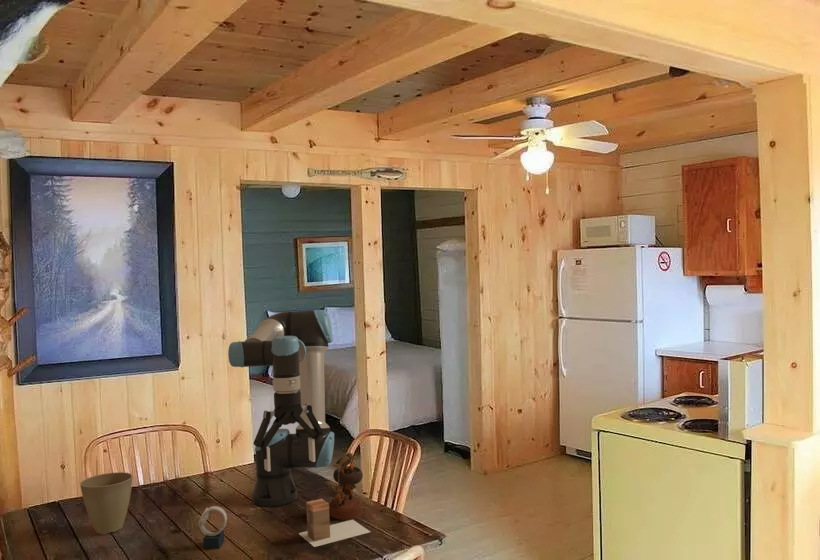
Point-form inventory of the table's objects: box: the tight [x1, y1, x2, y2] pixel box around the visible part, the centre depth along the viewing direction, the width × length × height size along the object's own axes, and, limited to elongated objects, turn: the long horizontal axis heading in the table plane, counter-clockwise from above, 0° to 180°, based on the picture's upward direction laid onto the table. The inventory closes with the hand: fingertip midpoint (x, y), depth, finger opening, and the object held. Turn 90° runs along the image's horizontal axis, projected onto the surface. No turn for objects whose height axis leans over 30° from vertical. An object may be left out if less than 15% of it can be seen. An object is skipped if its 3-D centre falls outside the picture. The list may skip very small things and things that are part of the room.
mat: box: [298, 519, 371, 548], centre depth 202 cm, size 12×18×1 cm, turn 121°
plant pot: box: [79, 471, 133, 533], centre depth 212 cm, size 15×15×16 cm
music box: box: [329, 452, 364, 521], centre depth 217 cm, size 15×11×20 cm
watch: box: [198, 505, 228, 550], centre depth 197 cm, size 6×8×11 cm
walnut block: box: [305, 498, 331, 541], centre depth 199 cm, size 5×5×10 cm
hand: (290, 465), depth 194 cm, fingers open, 13 cm apart
